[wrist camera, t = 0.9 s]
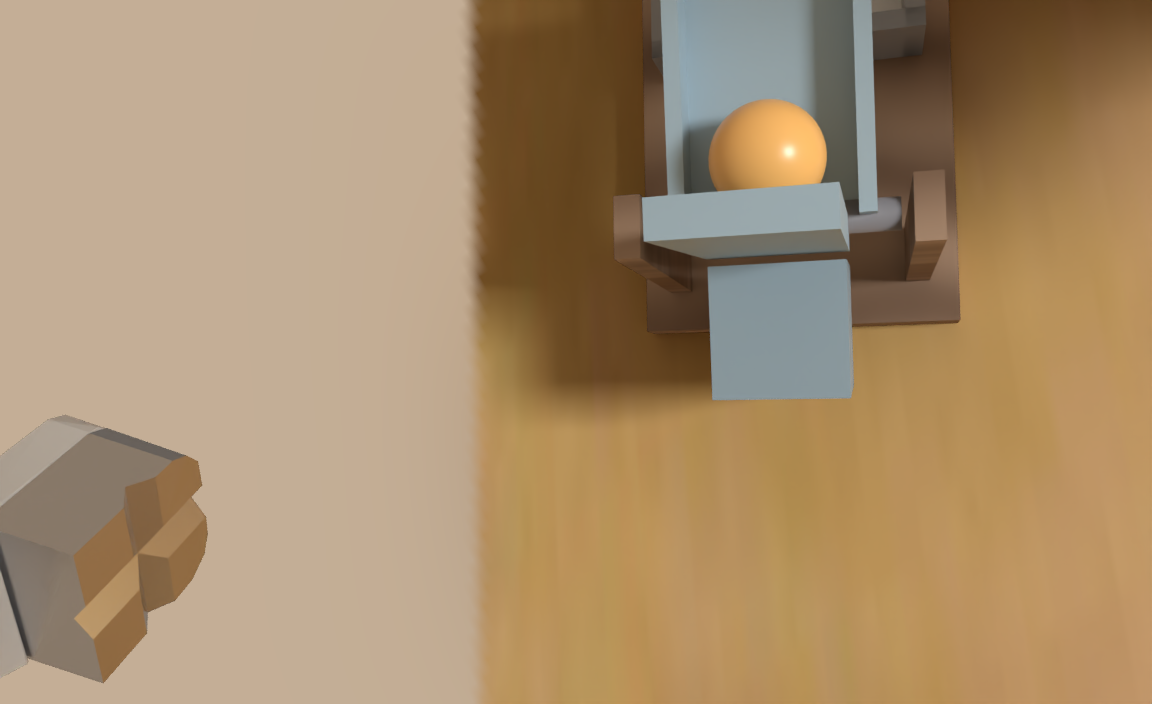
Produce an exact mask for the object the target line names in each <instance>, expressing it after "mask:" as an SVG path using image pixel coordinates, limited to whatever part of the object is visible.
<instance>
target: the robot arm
mask: <svg viewBox="0 0 1152 704" xmlns="http://www.w3.org/2000/svg"><path fill="white" fill-rule="evenodd" d="M201 486H202V482H201V476H200V470H199V465H198V461H196V460H194V459H192V458H190V457H188V456H186V455H183V454H180V453H177V452H174V451H171V450H169V449H166V448H162V447H160V446H157V445H154V444H151V443H148V442H145V441H142V440H139V439H137V438H134V437H131V436H128V435H125V434H122V433H119V432H116V431H113V430H111V429H108V428H103V427H100V426H97V425H94V424H91V423H88V422H85V421H82V420H79V419H76V418H73V417H70V416H67V415H63V416H59V417H56V418H51V419H48V420H47V421H45V422H44V423H43V424H41V425H40V426H39V427H38V428H36V429H35V430H34V431H32V432H31V433H29V434H28V435H27V436H26V437H24V438H23V439H22V440H20V441H19V442H18V443H16V444H15V445H14V446H13V447H11V448H10V449H9V450H7V451H6V452H5V453H3V454H2V455H1V456H0V678H1V677H3V676H5V675H7V674H9V673H11V672H13V671H15V670H17V669H18V668H20V667H22V666H24V665H26V664H27V663H28V659H27V658H29V659H32V660H35V661H38V662H41V663H44V664H47V665H50V666H53V667H56V668H59V669H62V670H65V671H68V672H71V673H74V674H77V675H80V676H83V677H86V678H89V679H92V680H95V681H98V682H101V683H104V682H105V681H106V680H107V678H108V677H109V676H110V675H111V674H112V673H113V672H114V670H115V669H116V668H117V667H118V666H119V665H120V663H121V662H122V661H123V660H124V659H125V658H126V656H127V655H128V654H129V653H130V652H131V651H132V649H134V647H135V646H136V645H137V644H138V643H139V642H140V640H141V639H142V638H143V637H144V636H145V635H146V634H147V618H148V612H150V611H152V610H154V609H157V608H159V607H161V606H164V605H166V604H168V603H171V602H173V601H175V600H176V599H177V597H178V596H179V595H180V594H181V593H182V591H183V590H184V589H185V588H186V587H187V585H188V584H189V583H190V582H191V580H192V579H193V577H194V575H195V573H196V570H197V568H198V566H199V564H200V562H201V560H202V558H203V556H204V553H205V547H206V541H207V535H208V533H207V522H206V516H205V515H204V513H203V512H202V511H201V509H200V508H199V507H198V505H197V504H196V503H195V502H194V500H193V499H192V495H193V494H194V493H195V492H196V491H197V490H198V489H199V488H200V487H201Z"/></svg>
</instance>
